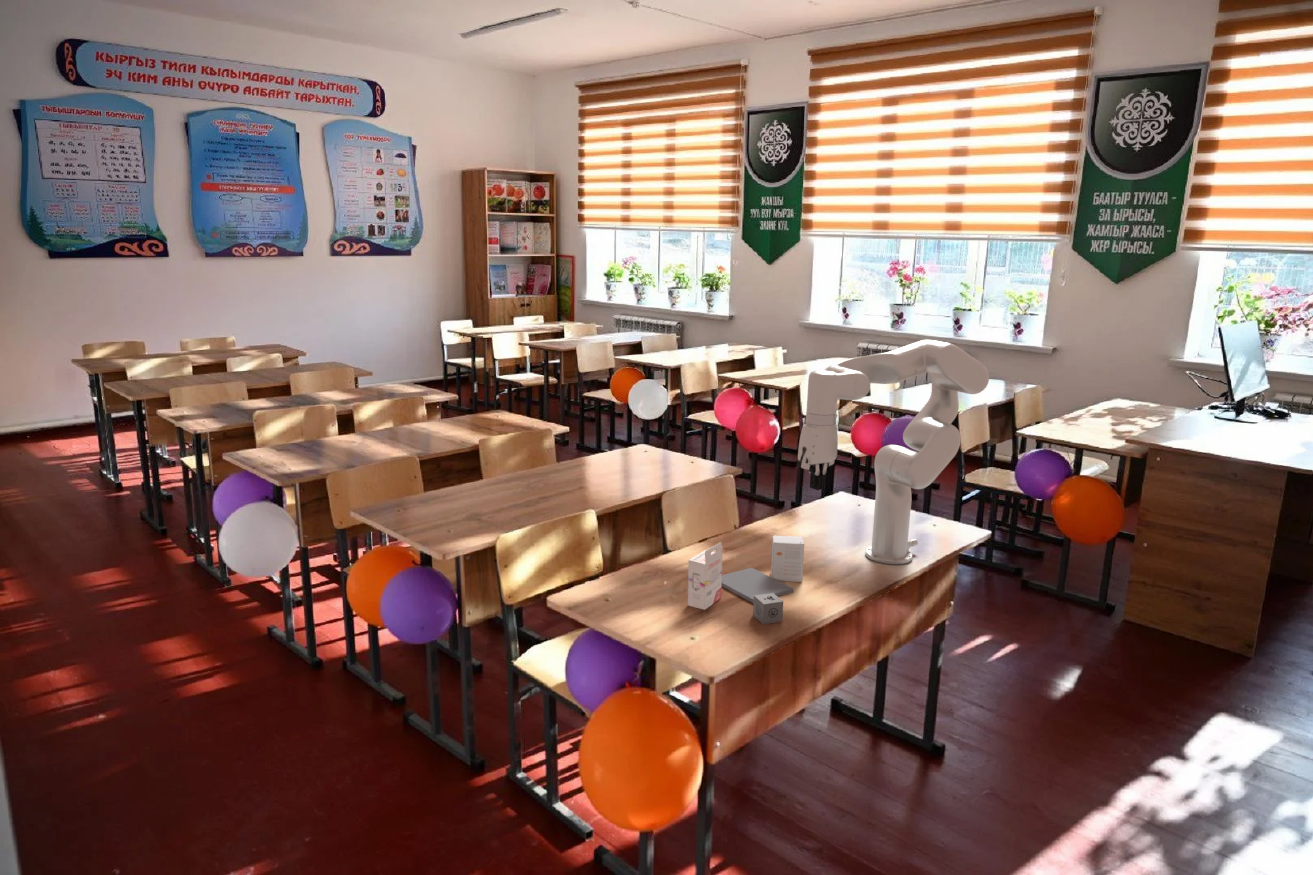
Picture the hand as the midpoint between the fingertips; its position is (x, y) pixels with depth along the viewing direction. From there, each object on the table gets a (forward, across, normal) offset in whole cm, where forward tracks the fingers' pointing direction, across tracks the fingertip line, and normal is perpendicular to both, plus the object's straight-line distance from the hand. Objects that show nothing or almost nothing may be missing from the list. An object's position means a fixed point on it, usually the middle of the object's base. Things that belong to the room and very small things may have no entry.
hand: (816, 488), depth 224 cm
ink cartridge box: (+23, +36, +1) cm, 43 cm away
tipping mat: (+23, +20, 0) cm, 30 cm away
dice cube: (+23, +29, +16) cm, 41 cm away
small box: (+23, +9, 0) cm, 25 cm away
